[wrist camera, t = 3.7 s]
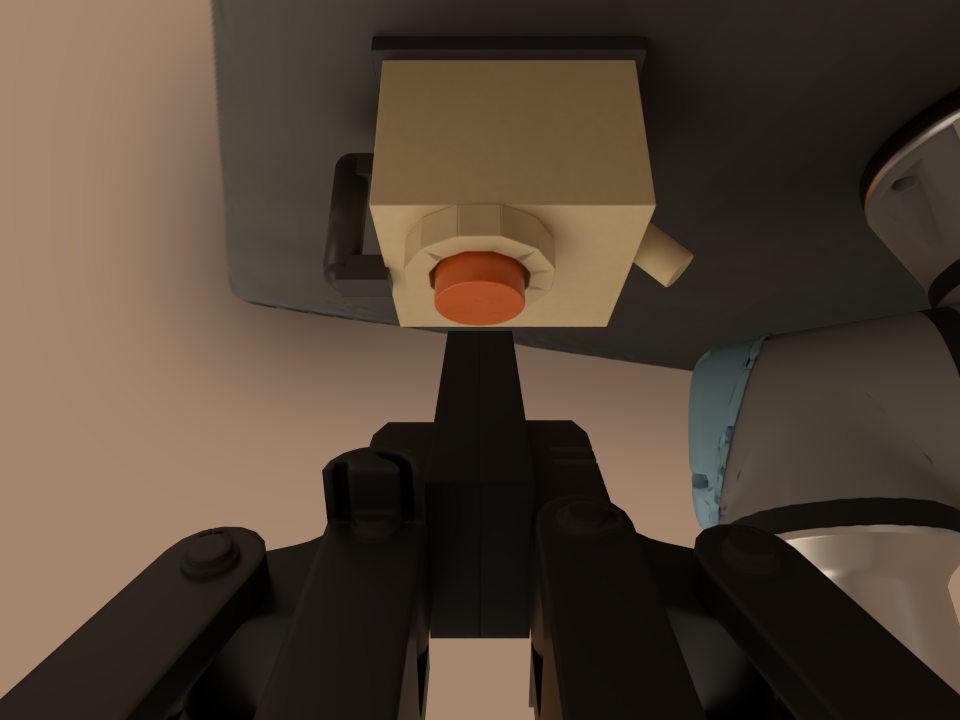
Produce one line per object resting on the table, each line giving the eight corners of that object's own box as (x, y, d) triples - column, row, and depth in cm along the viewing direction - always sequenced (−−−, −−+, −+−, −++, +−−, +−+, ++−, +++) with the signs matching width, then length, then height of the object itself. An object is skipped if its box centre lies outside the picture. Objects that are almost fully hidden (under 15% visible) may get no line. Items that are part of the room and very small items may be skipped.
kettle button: (527, 248, 28) (528, 281, 28) (521, 296, 32) (522, 326, 32) (432, 248, 28) (430, 281, 28) (438, 296, 32) (437, 326, 32)
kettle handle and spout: (707, 36, 31) (745, 211, 27) (644, 202, 43) (663, 342, 39) (313, 36, 31) (285, 211, 27) (359, 202, 43) (345, 342, 39)
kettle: (634, 44, 32) (662, 236, 27) (594, 196, 43) (609, 352, 38) (383, 44, 32) (365, 236, 27) (408, 196, 43) (399, 352, 38)
